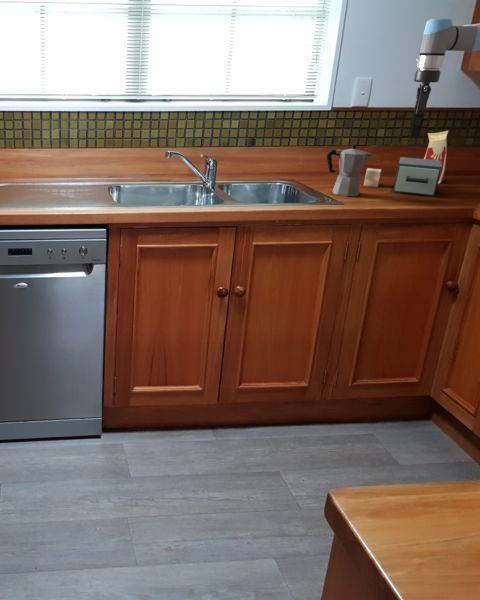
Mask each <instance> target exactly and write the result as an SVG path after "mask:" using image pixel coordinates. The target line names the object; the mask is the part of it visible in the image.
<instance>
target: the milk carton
mask: <svg viewBox="0 0 480 600" xmlns="http://www.w3.org/2000/svg"><path fill="white" fill-rule="evenodd" d="M448 133H449V130H445V131H439V132H429V133H426V134H427V136H428V140H429V141H428V145H427V148H426V152H425V155H424V157H423V159H429V160H441V164H442V168H441V172H440V177H439V181H438V184H441V183H442V182H443V179H444V175H445V171H446V167H447V166H446V164H447V154H448V150H447V149H448V148H447V147H448V145H447V144H448V143H447V137H448Z"/></svg>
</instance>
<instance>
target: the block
mask: <svg viewBox="0 0 480 600" xmlns="http://www.w3.org/2000/svg"><path fill="white" fill-rule="evenodd" d="M381 175H382V168H381V169H380V168H370V167H367V168H366V172H365V176H364V182H363V186H364V187H374V188H378V187H379V185H380V179H381Z"/></svg>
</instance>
